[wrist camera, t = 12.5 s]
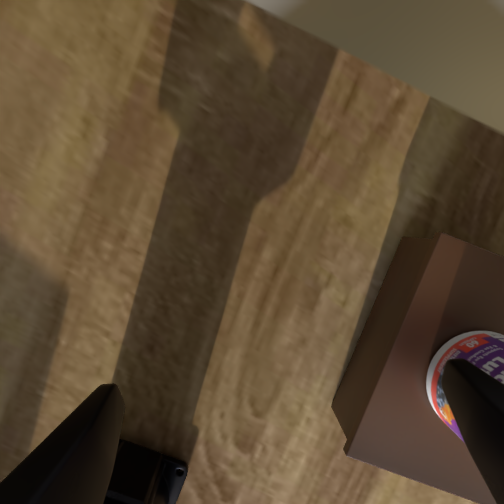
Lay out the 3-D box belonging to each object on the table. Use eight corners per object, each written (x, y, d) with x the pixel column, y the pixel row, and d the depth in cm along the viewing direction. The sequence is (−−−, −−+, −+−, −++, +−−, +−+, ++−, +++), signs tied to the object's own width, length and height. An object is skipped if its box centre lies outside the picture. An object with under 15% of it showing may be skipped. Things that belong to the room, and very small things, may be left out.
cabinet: (465, 460, 23) (521, 519, 18) (324, 409, 22) (345, 456, 18) (543, 287, 22) (622, 304, 18) (399, 230, 22) (441, 231, 17)
